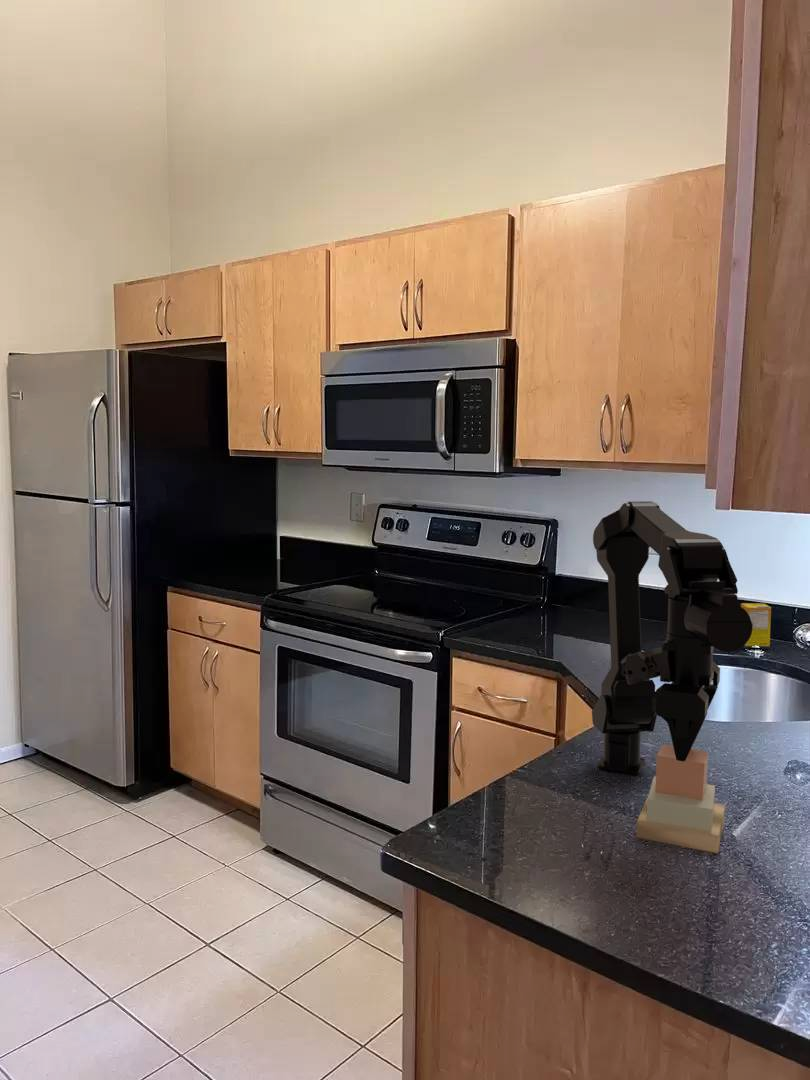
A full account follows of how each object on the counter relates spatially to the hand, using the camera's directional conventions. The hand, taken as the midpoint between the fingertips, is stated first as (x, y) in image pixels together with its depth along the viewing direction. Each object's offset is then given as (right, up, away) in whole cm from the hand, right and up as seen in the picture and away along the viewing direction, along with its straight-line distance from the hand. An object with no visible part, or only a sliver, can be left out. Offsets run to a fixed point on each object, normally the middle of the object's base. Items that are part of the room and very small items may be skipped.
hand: (685, 748), depth 109 cm
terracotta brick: (0, -6, +1) cm, 6 cm away
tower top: (0, -9, +1) cm, 9 cm away
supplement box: (+53, 0, +103) cm, 116 cm away
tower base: (0, -12, +2) cm, 12 cm away
